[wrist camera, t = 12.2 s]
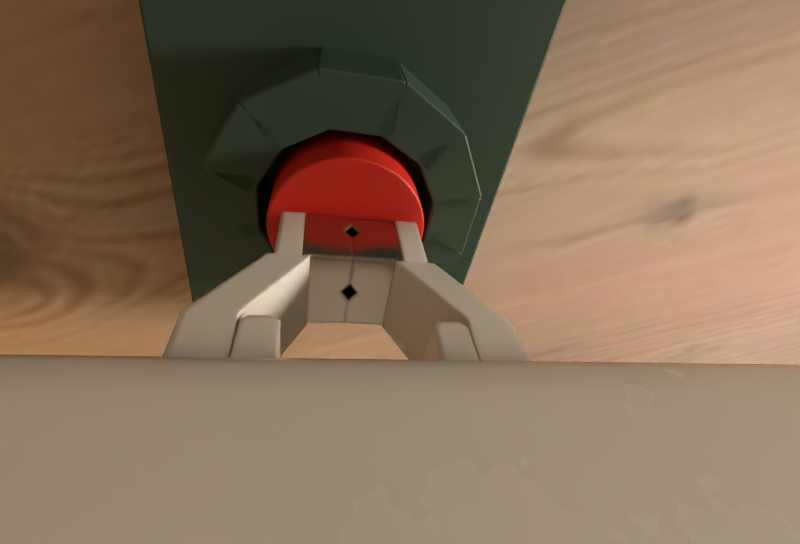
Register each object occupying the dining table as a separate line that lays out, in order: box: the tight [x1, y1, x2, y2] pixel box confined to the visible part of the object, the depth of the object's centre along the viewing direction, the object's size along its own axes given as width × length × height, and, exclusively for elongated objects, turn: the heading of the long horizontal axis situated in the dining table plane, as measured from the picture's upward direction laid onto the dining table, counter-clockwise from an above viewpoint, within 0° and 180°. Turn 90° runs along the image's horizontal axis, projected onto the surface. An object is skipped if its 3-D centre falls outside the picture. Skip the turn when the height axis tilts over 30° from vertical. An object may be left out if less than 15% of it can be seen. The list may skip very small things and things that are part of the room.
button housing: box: [139, 0, 567, 302], centre depth 12 cm, size 11×9×4 cm
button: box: [266, 130, 424, 250], centre depth 10 cm, size 4×4×2 cm
